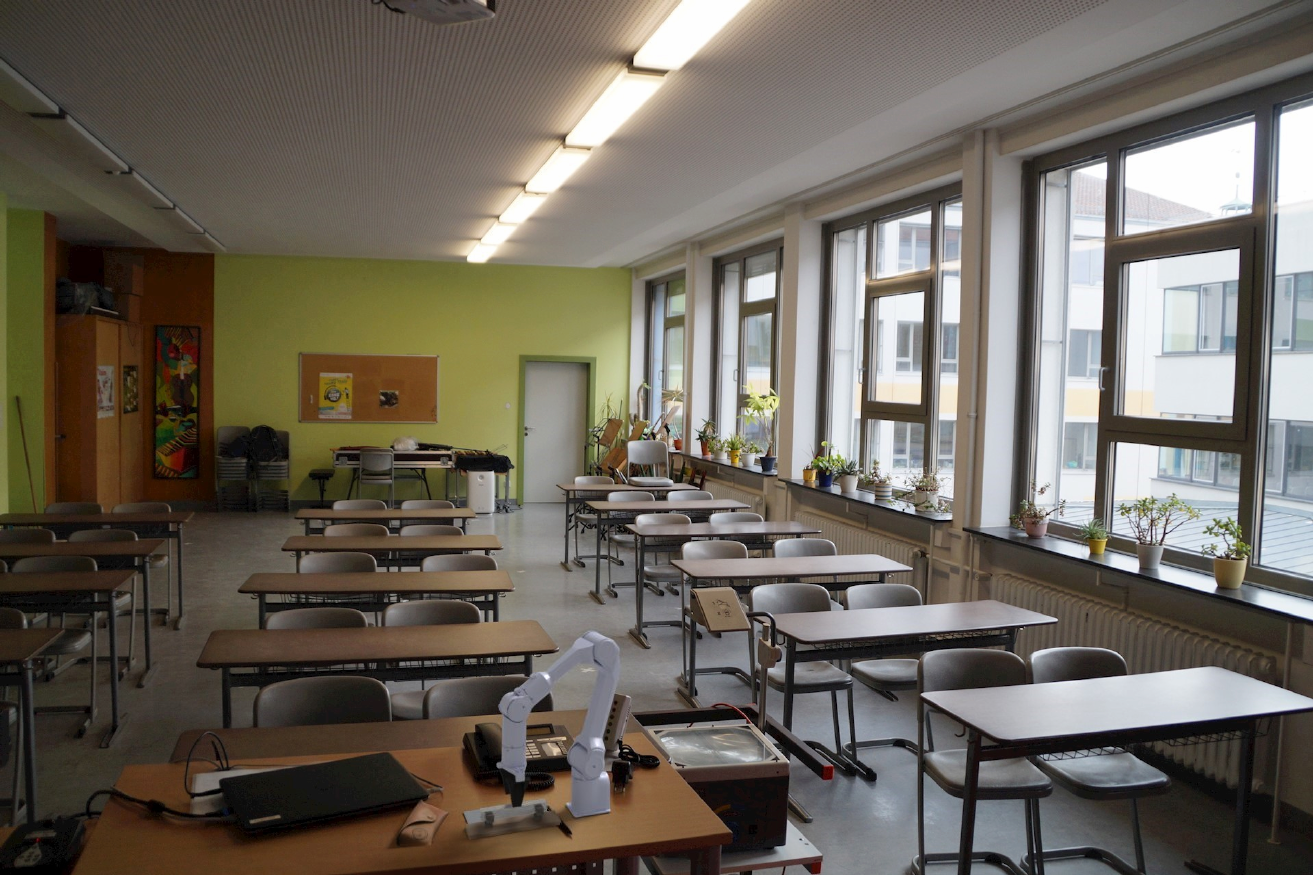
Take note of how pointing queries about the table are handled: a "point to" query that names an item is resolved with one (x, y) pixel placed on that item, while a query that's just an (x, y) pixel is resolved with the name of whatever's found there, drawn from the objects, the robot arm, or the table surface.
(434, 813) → the sunglasses case
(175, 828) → the table surface
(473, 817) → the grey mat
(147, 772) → the table surface
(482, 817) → the rail
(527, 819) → the hook rack
